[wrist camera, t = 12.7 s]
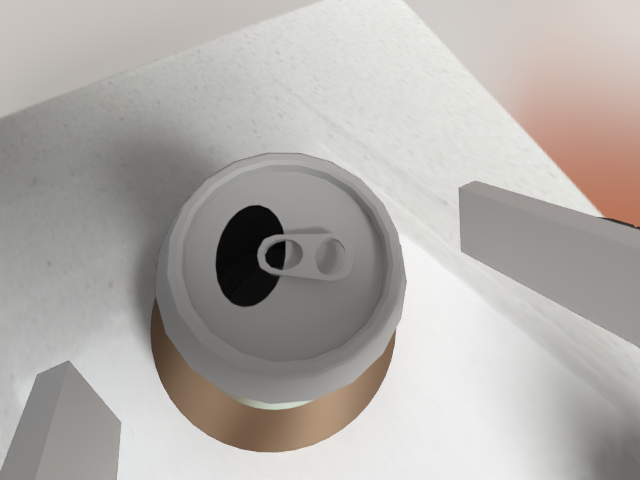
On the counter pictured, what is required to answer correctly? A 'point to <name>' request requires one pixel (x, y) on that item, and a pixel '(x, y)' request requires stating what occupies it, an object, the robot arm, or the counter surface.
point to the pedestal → (260, 403)
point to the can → (281, 278)
